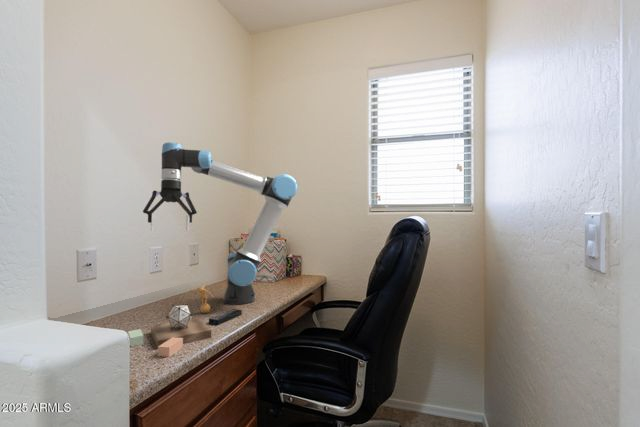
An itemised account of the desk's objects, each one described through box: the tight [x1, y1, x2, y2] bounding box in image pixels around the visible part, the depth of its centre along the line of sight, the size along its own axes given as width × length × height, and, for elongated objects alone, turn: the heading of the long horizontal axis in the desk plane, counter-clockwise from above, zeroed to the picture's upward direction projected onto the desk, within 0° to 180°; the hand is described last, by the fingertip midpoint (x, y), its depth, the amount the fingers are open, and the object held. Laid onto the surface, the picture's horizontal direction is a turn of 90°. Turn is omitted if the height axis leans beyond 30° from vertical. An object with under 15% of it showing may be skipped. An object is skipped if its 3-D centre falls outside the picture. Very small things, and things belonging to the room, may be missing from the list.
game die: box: [165, 302, 194, 330], centre depth 104 cm, size 9×8×10 cm
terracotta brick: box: [157, 337, 184, 358], centre depth 91 cm, size 7×4×3 cm, turn 174°
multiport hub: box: [208, 308, 243, 326], centre depth 121 cm, size 4×14×2 cm, turn 156°
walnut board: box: [150, 317, 212, 350], centre depth 104 cm, size 16×16×2 cm
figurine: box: [194, 285, 214, 314], centre depth 128 cm, size 8×6×12 cm
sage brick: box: [127, 328, 145, 346], centre depth 98 cm, size 7×4×3 cm, turn 38°
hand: (170, 230), depth 128 cm, fingers open, 13 cm apart
